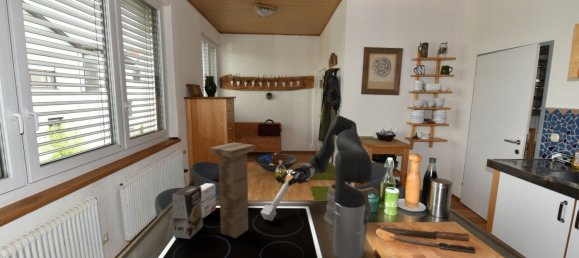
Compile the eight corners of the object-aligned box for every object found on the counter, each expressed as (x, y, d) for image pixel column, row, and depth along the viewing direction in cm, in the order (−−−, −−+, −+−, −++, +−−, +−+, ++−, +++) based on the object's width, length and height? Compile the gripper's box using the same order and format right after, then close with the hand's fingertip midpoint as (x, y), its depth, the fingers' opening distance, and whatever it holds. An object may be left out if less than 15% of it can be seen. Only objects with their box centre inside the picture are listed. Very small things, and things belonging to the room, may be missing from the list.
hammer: (288, 178, 121) (285, 172, 119) (295, 180, 119) (293, 173, 117) (263, 218, 107) (260, 212, 105) (271, 221, 105) (268, 215, 103)
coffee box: (190, 239, 93) (188, 195, 90) (173, 237, 94) (171, 193, 92) (203, 226, 101) (201, 186, 99) (188, 224, 103) (186, 184, 101)
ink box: (207, 207, 118) (206, 182, 116) (216, 209, 116) (215, 183, 115) (194, 216, 110) (192, 188, 108) (204, 218, 108) (202, 190, 107)
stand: (255, 227, 101) (254, 145, 96) (233, 243, 91) (231, 151, 86) (235, 221, 106) (233, 142, 101) (212, 234, 96) (209, 147, 91)
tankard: (322, 225, 103) (323, 188, 101) (327, 211, 115) (328, 178, 113) (376, 233, 98) (378, 194, 96) (376, 218, 110) (378, 183, 107)
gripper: (291, 162, 133) (272, 171, 119) (317, 166, 126) (299, 176, 112) (291, 177, 134) (272, 187, 120) (317, 182, 127) (299, 193, 113)
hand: (285, 182), depth 116 cm, fingers closed on hammer, 3 cm apart
